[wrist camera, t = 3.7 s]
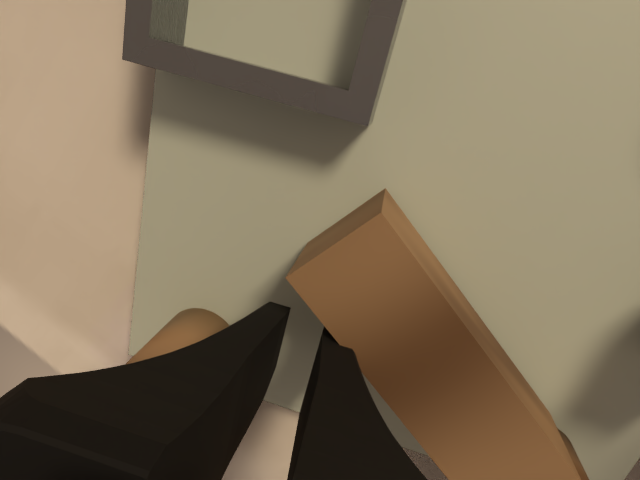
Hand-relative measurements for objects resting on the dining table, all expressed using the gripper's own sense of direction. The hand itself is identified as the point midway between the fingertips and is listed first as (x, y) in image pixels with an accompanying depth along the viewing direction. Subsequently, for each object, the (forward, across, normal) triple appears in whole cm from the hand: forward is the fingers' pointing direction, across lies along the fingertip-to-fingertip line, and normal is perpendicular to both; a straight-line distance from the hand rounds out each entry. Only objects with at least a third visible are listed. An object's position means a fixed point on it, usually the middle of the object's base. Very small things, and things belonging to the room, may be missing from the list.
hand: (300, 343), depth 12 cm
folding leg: (+1, -4, 0) cm, 4 cm away
